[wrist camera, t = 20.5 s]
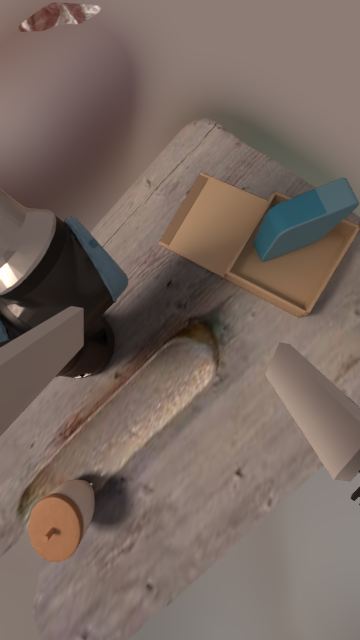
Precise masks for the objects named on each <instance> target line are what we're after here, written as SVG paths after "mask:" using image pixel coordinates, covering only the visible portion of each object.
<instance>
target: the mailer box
mask: <svg viewBox="0 0 360 640" xmlns="http://www.w3.org/2000/svg"><path fill="white" fill-rule="evenodd" d="M289 199H292V198H291V197H289V196H286V195H284V194H281V193H279V192H277V191H274V192H273V194H272V195H271V197H270V199H269V200H268V201H267V200H264V199H262V198H260V197H257V196H255V195H253V194H250V193H248V192H246V191H243V190H241V189H238V188H236V187H234V186H231V185H229V184H227V183H224V182H222V181H219V180H217V179H215V178H212V177H210V176H208V175H205V174H203V173H200V175H199V176H198V178H197V180H196V181H195V183H194V185H193V186H192V188H191V190H190V191H189V193H188V195H187V196H186V198H185V200H184V201H183V203H182V205H181V206H180V208H179V210H178V211H177V213H176V215H175V216H174V218H173V220H172V221H171V223H170V225H169V226H168V228H167V230H166V231H165V233H164V235H163V237H162V238H161V240H160V242H159V245H161V246H163V247H165V248H167V249H169V250H171V251H173V252H175V253H176V254H178V255H180V256H182V257H184V258H186V259H188V260H190V261H192V262H194V263H196V264H197V265H199V266H201V267H203V268H205V269H207V270H209V271H211V272H213V273H215V274H216V275H218V276H220V277H222V278H224V279H226V280H228V281H230V282H232V283H234V284H235V285H237V286H239V287H241V288H243V289H245V290H247V291H249V292H251V293H253V294H255V295H256V296H258V297H260V298H262V299H264V300H266V301H268V302H270V303H272V304H274V305H275V306H277V307H279V308H281V309H283V310H285V311H287V312H289V313H291V314H293V315H294V316H296V317H298V318H300V317H304V316H308V315H309V313H310V311H311V310H312V308H313V306H314V305H315V303H316V301H317V300H318V298H319V296H320V295H321V293H322V291H323V290H324V288H325V286H326V285H327V283H328V281H329V280H330V278H331V276H332V275H333V273H334V271H335V270H336V268H337V266H338V265H339V263H340V261H341V260H342V258H343V256H344V255H345V253H346V251H347V250H348V248H349V246H350V245H351V243H352V241H353V240H354V238H355V236H356V235H357V233H358V231H359V230H360V225H357V224H355V223H352V222H350V221H348V220H345V219H343V220H342V221H341V222H339V223H338V224H337V225H336V226H335V227H334V228H333V229H331V230H330V231H329V232H328V233H327V234H326V235H325V236H324V237H322V238H321V239H320V240H319V241H317V242H315V243H313V244H311V245H308V246H306V247H303V248H300V249H298V250H295V251H292V252H290V253H287V254H284V255H282V256H279V257H276V258H274V259H271V260H269V261H266V262H261V260H260V258H259V255H258V253H257V251H256V248H255V246H254V240H255V238H256V236H257V234H258V231H259V229H260V227H261V225H262V223H263V221H264V218H265V216H266V214H267V213H268V211H269V210H270V209H271V208H273V207H274V206H276V205H277V204H279V203H282V202H284V201H287V200H289Z"/></svg>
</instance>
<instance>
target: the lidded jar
mask: <svg viewBox="0 0 360 640" xmlns="http://www.w3.org/2000/svg"><path fill="white" fill-rule="evenodd" d="M94 508H95V498H94V490H93V488H92V486H91V485H90V484H89V483H88V482H87V481H85V480H77V479H75V480H69V481H66V482H64V483H62V484H61V485H59V486H58V487H56V488H55V489H54V490H52V491H51V492H50V493H49V494H48V495H47V496H46V497H44V498H43V499H42V500H41V501H40V502H39V503H38V504H37V505H36V506H35V507H34V509H33V511H32V513H31V516H30V519H29V536H30V539H31V543H32V545H33V547H34V548H35V550H36V551H37V552H38V553H39V555H41V556H42V557H43V558H44V559H46V560H49V561H52V562H60V561H63V560H66V559H67V558H69V557H70V556H71V555H72V554H73V553H74V552H75V550H76V549H77V547H78V546H79V544H80V542H81V540H82V538H83V536H84V535H85V533H86V531H87V529H88V527H89V525H90V523H91V520H92V517H93V514H94Z"/></svg>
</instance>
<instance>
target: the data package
mask: <svg viewBox="0 0 360 640" xmlns="http://www.w3.org/2000/svg"><path fill="white" fill-rule="evenodd" d="M358 205H359V202H358V200H357V198H356V196H355V194H354V192H353V191H352V189H351V187H350V185H349V183H348V181H347V179H346V178H341V179H338V180H336V181H333V182H331V183H328V184H326V185H324V186H321V187H318V188H316V189H314V190H311V191H309V192H306V193H304V194H301V195H299V196H297V197H294V198H292V199H289V200H287V201H284V202H282V203H279V204H277V205H276V206H274V207H273V208H271V209H270V210H269V211H268V213H267V214H266V216H265V218H264V221H263V223H262V225H261V227H260V229H259V231H258V234H257V236H256V238H255V240H254V246H255V248H256V251H257V253H258V255H259V258H260V260H261V262H266V261H269V260H271V259H274V258H276V257H279V256H282V255H284V254H287V253H290V252H292V251H295V250H298V249H300V248H303V247H306V246H308V245H311V244H313V243H315V242H317V241H319V240H320V239H321V238H322V237H324V236H325V235H326V234H327V233H328V232H329V231H330V230H331V229H333V228H334V227H335V226H336V225H337V224H338V223H339V222H341V221H342V220H343V219H344V218H345V217H346V216H347V215H348V214H350V213H351V212H352V211H353V210H354V209H355V208H356V207H357V206H358Z"/></svg>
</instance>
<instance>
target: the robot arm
mask: <svg viewBox="0 0 360 640" xmlns="http://www.w3.org/2000/svg"><path fill="white" fill-rule="evenodd" d="M64 221H65V222H63V221H62V220H60V219H59V218H58V217H57V216H56V215H54V214H53V213H52V212H51V211H49V210H46V209H28V208H25V207H23V206H22V205H20V204H19V203H18V202H16V201H15V200H14V199H13V198H11V197H10V196H9V195H7V194H6V193H5V192H3V191H2V190H1V189H0V436H1V435H2V434H3V433H4V432H5V431H6V429H7V428H8V427H9V426H10V425H11V424H12V423H13V422H14V421H15V420H16V419H17V418H18V416H19V415H20V414H21V413H22V412H23V411H24V410H25V409H26V408H27V407H28V406H29V404H30V403H31V402H32V401H33V400H34V399H35V398H36V397H37V396H38V395H39V394H40V393H41V391H42V390H43V389H44V388H45V387H46V386H47V385H48V384H49V383H50V382H51V381H52V379H53V378H54V377H57V376H65V377H71V378H85V377H88V376H91V375H94V374H96V373H98V372H100V371H101V370H102V369H104V368H105V366H106V365H107V364H108V363H109V361H110V359H111V357H112V354H113V350H114V336H113V332H112V330H111V328H110V326H109V324H108V323H107V322H106V321H105V320H104V319H103V318H102V317H101V315H102V314H103V313H104V312H105V311H106V310H107V309H108V308H109V307H110V306H111V305H112V304H113V303H115V302H116V301H117V298H118V297H119V296H120V295H121V293H122V292H123V291H124V290H125V289H126V287H127V285H128V278H127V276H126V274H125V273H124V271H123V270H122V269H121V268H120V267H119V266H118V264H117V263H116V262H115V261H114V260H113V259H112V258H111V256H110V255H109V254H108V253H107V252H106V251H105V250H104V249H103V247H102V246H101V245H100V244H99V243H98V242H97V241H96V240H95V238H94V237H93V236H92V235H91V234H90V233H89V231H88V230H87V229H86V228H85V227H84V226H83V225H82V224H81V222H80V221H79V220H78V219H77V218H76V217H74V216H70V217H69V218H65V219H64ZM265 375H266V377H267V378H268V380H269V381H270V383H271V385H272V386H273V388H274V389H275V391H276V392H277V394H278V395H279V397H280V398H281V400H282V401H283V403H284V404H285V406H286V407H287V409H288V411H289V412H290V414H291V415H292V417H293V418H294V420H295V421H296V423H297V424H298V426H299V427H300V429H301V430H302V432H303V433H304V435H305V437H306V438H307V440H308V441H309V443H310V444H311V446H312V447H313V449H314V450H315V452H316V453H317V455H318V456H319V458H320V459H321V461H322V462H323V464H324V466H325V467H326V469H327V470H328V472H329V473H330V475H331V476H332V478H333V479H334V480H343V481H351V480H352V479H353V478H354V477H355V476H356V475H357V474H358V473H359V472H360V408H359V407H358V406H357V405H356V404H355V403H354V402H353V401H352V400H351V399H350V398H349V397H347V396H346V395H345V394H344V393H343V392H342V391H341V390H339V389H338V388H337V387H336V386H335V385H334V384H333V383H332V382H331V381H330V380H329V379H327V378H326V377H325V376H324V375H323V374H322V373H321V372H320V371H319V370H318V369H316V368H315V367H314V366H313V365H312V364H311V363H310V362H309V361H308V360H307V359H306V358H304V357H303V356H302V355H301V354H300V353H299V352H298V351H297V350H296V349H295V348H293V347H292V346H291V345H290V344H285V343H279V345H278V347H277V349H276V351H275V354H274V356H273V358H272V360H271V362H270V365H269V367H268V369H267V371H266V374H265ZM358 497H360V487H359V488H358V489H357V490H356V491H355V492H354V493H353V494H352V496H351V499H352V500H354V501H355V500H356V499H357V498H358ZM359 505H360V504H359Z"/></svg>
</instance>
